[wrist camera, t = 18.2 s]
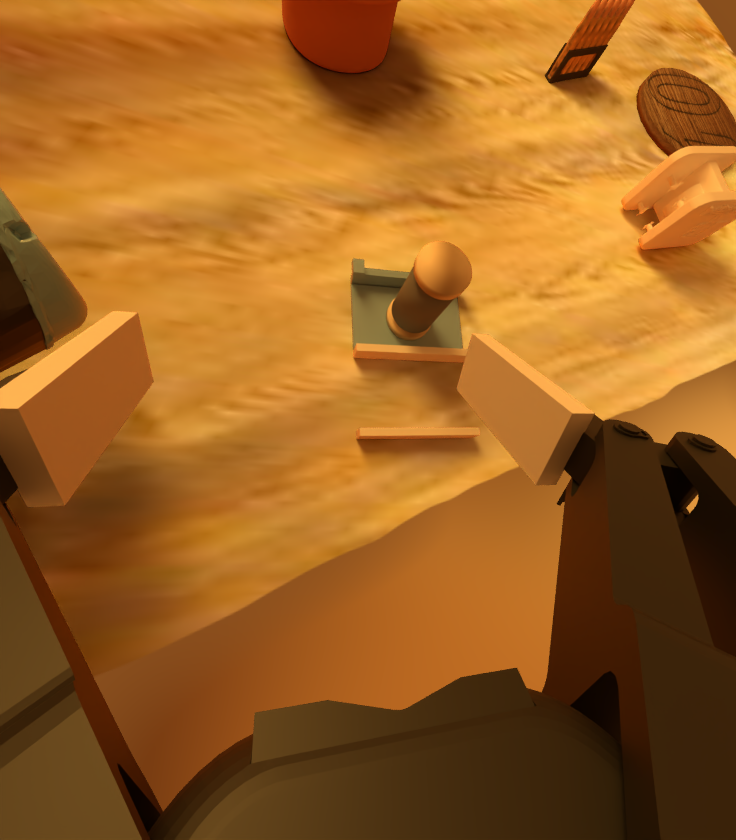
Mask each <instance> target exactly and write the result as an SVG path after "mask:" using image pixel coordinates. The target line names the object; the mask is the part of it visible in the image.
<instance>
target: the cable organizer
mask: <svg viewBox="0 0 736 840" xmlns="http://www.w3.org/2000/svg"><path fill="white" fill-rule="evenodd" d="M735 161H736V147H735V146H688V147H684V148H682V149H680V150H678V151H676V152H674V153H673V154H671V155H670V156H669V157H668V158H667V159H665V160H664V161H663V162H662V163H661V164H660V165H659V166H658V167H657V168H655V169H654V170H653V171H652V172H651V173H650V174H649V175H648V176H646V177H645V178H644V179H643V180H642V181H641V182H640V183H639V184H638V185H636V186H635V187H634V188H633V189H632V190H631V191H630V192H629V193H628V194H626V195H625V196H624V197H623V199H622V200H621V202H622V205H623V208H624V210H637V209H639V212H640V213H639V214H643V213H644V212H645V211H646V210H647V209H654V210H655V212H656V215H657V217H658V219H659V222H660V223H658V224H657V225H655V226H654V227H652V224H653V223H652V222H653V221H654V220H653V221H652V222H651V223H649V224H648V225H645V226H644V228H643V229H645V228H646V229H647V232H646V233H645V234H643V235H642V236H641V237H640V238H639V239H638V242H639V244H640V247H641V249H643V250H647V249H657V248H668V247H678V246H687V245H691V244H694V243H697V242H699V241H701V240H703V239H705V238H706V237H708V236H710V235H711V234H713V233H714V232H716V231H718V230H719V229H721V228H722V227H724V226H726V225H727V224H729V223H731V222H732V221H734V220H735V219H736V191H730V190H729V188H728V186H727V184H726V181H725V179H724V177H723V175H722V173H721V172H722V171H723V170H725V169H726V168H727V167H729V166H730V165H731V164H733V163H734V162H735ZM639 214H637V215H639ZM637 215H636V216H637ZM654 223H655V222H654ZM643 229H641V230H643ZM641 230H640V231H641Z"/></svg>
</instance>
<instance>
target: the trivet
mask: <svg viewBox="0 0 736 840" xmlns="http://www.w3.org/2000/svg"><path fill="white" fill-rule="evenodd" d="M637 110H638V113H639V116H640V120H641V122H642V124H643V126H644V127H645V129H646V131H647V133H648V135H649V136H650V137H651V138H652V140H653V141H654V142H655V144H656V145H657V146H658V147H659V148H660V149H661V150H662V151H663V152H664V153H665V154H667V155H668V156H670V155H671V154H673V153H674V152H676V151H678V150H680V149H682V148H684V147H688V146H735V147H736V122H735V119H734V117H733V116H732V114H731V112H730V110H729V109H728V107H727V105H726V104H725V103H724V102H723V100H722V99H721V98H720V97H719V95H718V94H717V93H716V92H715V91H713V90H712V89H711V88H710V87H709V86H708V85H707V84H706V83H704V82H703V81H701V80H700V79H698V78H697V77H696V76H694V75H691V74H689V73H687V72H685V71H683V70H678V69H674V68H661V69H658V70H656V71H653V72H652V73H651V74H650V75H649V76H648V78H647V79H646V80H645V81H644V82H643V83H642V85H641V86H640V87H639V90H638V93H637Z"/></svg>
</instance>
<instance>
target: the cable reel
mask: <svg viewBox="0 0 736 840" xmlns="http://www.w3.org/2000/svg"><path fill="white" fill-rule="evenodd" d="M471 278H472V268H471V264H470V262H469V260H468V258H467V257H466V255H465V254H464V253H463V252H462V251H461V250H460V249H459V248H458V247H456V246H455V245H453V244H451V243H448V242H444V241H435V242H431V243H429V244H427V245H425V246H424V247H423V248H422V249H421V251H420V253H419V254H418V256H417V258H416V260H415V262H414V267H413V268H412V270H411V272H410V274H409V275H408V277H407V279H406V281H405V282H404V284H403V286H402V287H401V289H400V291H399V293H398V294H397V296H396V298H395V299H394V300H393V301H392V302H391V304H390V305H389V307H388V309H387V312H386V321H387V324H388V327H389V329H390V330H391V331H392V332H393V333H394V334H395V335H396V336H397V337H399V338H401V339H403V340H408V341H413V340H417V339H420V338H421V337H423V336H424V335H425V333H426V332H427V331H428V330H429V329H430V327H431V325H432V323H433V322H434V321H435V320H436V319H437V318H438V317H439V316H440V314H441V313H442V312H443V311H444V310H445V309H446V308H447V307H448V305H449V304H450V303H451V302H452V301H453V300H454V299H455V298H456V297H458V296H459V295H460V294H461V293H462V292H463V291H464V290H465V289H466V288H467V287H468V285H469V284H470V281H471Z"/></svg>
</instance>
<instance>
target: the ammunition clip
mask: <svg viewBox="0 0 736 840" xmlns="http://www.w3.org/2000/svg"><path fill="white" fill-rule="evenodd" d="M601 1H602V0H596V1H595V2H594V4H593V5H592V6H591V8H590V9H589V11H588V13H587V14H586V15H585V17H584V18H583V20H582V21H581V23H580V24H579V25H578V26H577V28H576V30H575V31H574V33H573V34H572V36H571V38H570V39H569V41H568V43H565V44H564V46H563V47H562V49H561V51H560V52H559V54H558V55H557V57H556V59H555V60H554V62H553V63H552V65H551V67H550V68H549V70H548V71H547V73H546V74H545V77H546V78H547V80H548V82H549V83H553V82H559V81H564V80H570V79H575V78H580V77H586V76H587V75H588V74H589V72H590V71H591V69H592V68H593V66H594V65H595V64H596V62H597V61H598V59H599V58H600V56H601V55H602V53H603V52H604V50H605V49H606V48H607V46H608V45H607V43H608V42H609V40H610V39H611V38H612V36H613V35H614V33H615V32H616V30H617V29H618V27H619V26H620V24H621V22H622V20H623V19H624V17H625V16H626V14H627V12H628V11H629V10H630V8H631V6H632V5H633V3H634V1H635V0H616V1H615V0H603V1H602V2H601ZM608 1H609V2H608Z"/></svg>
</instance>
